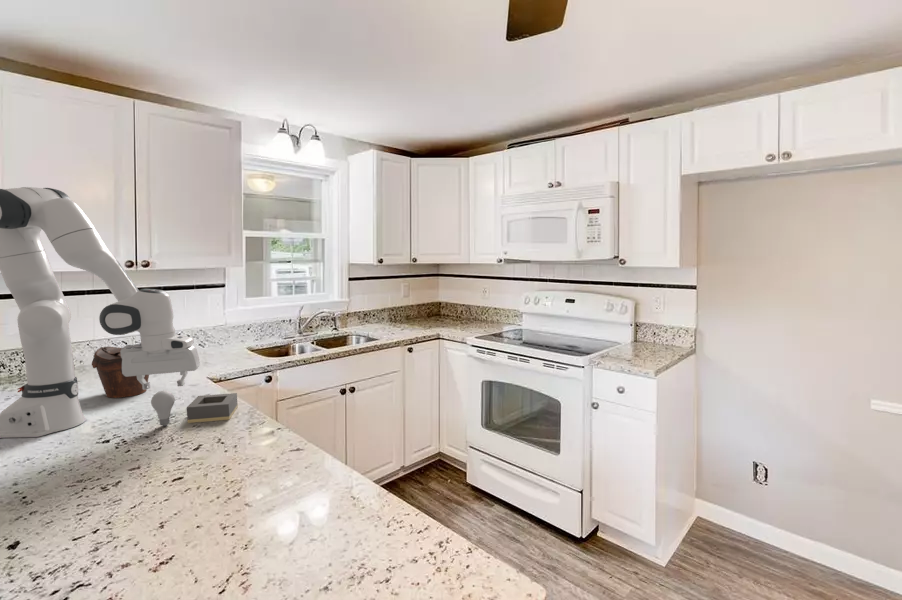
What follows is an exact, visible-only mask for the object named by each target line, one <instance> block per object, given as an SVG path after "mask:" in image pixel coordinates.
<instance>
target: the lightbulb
mask: <svg viewBox="0 0 902 600" xmlns="http://www.w3.org/2000/svg"><path fill="white" fill-rule="evenodd" d="M175 401H176V398H175V395H174V394H173V393H172V392H171V391H168V390H160V391H158V392H157V391H156V393H155V394H153V395H152V398H151V401H150V404H151V406H152V408H153V410H154V411H156V414H157V418H158V419H159V425H160V426H163V427H167V426H168V425H169V424H171V423H170V418H171V411H172V408H173V407H174V405H175Z"/></svg>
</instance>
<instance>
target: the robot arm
mask: <svg viewBox="0 0 902 600" xmlns="http://www.w3.org/2000/svg"><path fill="white" fill-rule="evenodd" d="M41 231H43V232H44V234H45V235H46V237H47V239H48V241H49V243H50V244H51V246H52V247H53V249H54V251H55V252H56V253H57V255H58V256H59V257H60V258H61V259H62V260H63V262H65V263H66V264H67V265H69V266H71V267H74V268H77V269H80V270H83V271H86V272H88V273H91V274H93V275H95V276H97V277H98V278H100V279H101V281H103V283H104V284H105V285H106V286H107V288H108V290H110V292H111V293H112V295H113V296H114V298H115V299H116V302H114V303H113V302H112V303H110V304H109V305H107V306H105V307H104V308H103V309H102V310H101V311H100V313H99V317H98V319H99V324H100V326H101V328H102V329H103V330H104V331H105V332H107V333H108V334H111V335H113V336H125V335H127V334H128V335H129V334H132V333H135V332H138V333H139V336H140V337H139V338H140V343H137V344H126V345H125V346H122V347H121V348H122V349H121V351H120V353H121V358H122V374H123V375H124V376H126V377H128V376H137V380H138V381H139V382H140V383H141V384H142V388H143V390H146V389H147V390H150V389H151V382H149V381H148V382H146V381H145V379H144V377H145V375H149V376H150V375H161V374H162V375H163V374H172V373H179V376H181V378H180V379H178V380H177V381H176V383H177V387H184V386H185V384H186V383H185V379H186V377H187V375H188V373H189V372H193V371H196V370H197V369H199V367H200V362H201V361H200V357H199V353H198V350H197V348H196V347H195V346H194V345H193V344H194V338H193V337H190V336H186V335H180V334H177V333H176V329H175V328H174V324H173V323H174V312H173V305H172V301H171V297H170V295H169V293H168V292H167V291H165V290H162V289H157V288H141V289H138V287H137V285H135V283H134V281H133V280H132V278H131V277H130V276H129V274H128V273H127V271H126V270H125V269H124V267H123V266H122V264H121V263H120V262H119V260H118V259H116V256H115V255H114V254H113V253H112V252H111V250H110V249H109V248H108V246H107V245H106V243H105V242H104V240H103V238H102V236H101V235H100V234H99V232H98V230H97V228H96V227H95V225H94V223H93V222H92V221H91V219H90V218H89V216H88V215H87V214H86V213H85V211H83V209H82V208H81V206H79V204H78V203H77V202H75V200H72V199H71V197H70V196H68V194H67V193H65V192H64V191H62V190H59V189H56V188H51V187H43V188H42V187H32V186H31V187H29V186H23V187H14V188H0V273H1V276H2V278H3V281H4V283H5V285H6V288H7V289H8V291H9V292H10V294H11V295H12V297H13V299H14V301H15V302H16V305H17V306H18V309H19V311H20V312H19V313H18V315H17V327H18V333H19V334H18V335H19V339H20V343H21V348H22V352H23V356H24V362H25V372H26V381H27V383H26V384H24V385H22V386H20V387H19V388H17V389H16V390H18V391H17V393H20V392H21V397H18V399H16V400H15V401H13V402H12V403H11V404H9V406H7V407H6V408H5V409H3V410H1V412H0V438H3V439H4V438H7V439H8V438H10V439H11V438H36V437H37V438H39V437H42V436H45V435H46V436H47V435H49V434H52V433H56V432H61V431H64V430H68V429H73V428H74V427H77V426H80V425H82V424H84V423H85V422H86V420H87V417H85V414H84V413H83V410H82V406H81V403H80V399H79V383H78V378H77V376H76V374H75V373H76V372H75V370H76V369H75V362H74V351H73V346H72V340H71V333H70V325H69V324H70V321H71V318H72V312H71V309H70V308H69V305H68V302H67V300H66V297H65V295H64V294H63V290H62V289H61V286H60V284H59V282H58V280H57V277H56V276H55V273H54V270H53V268H52V265H51V262H50V260H49V257H48V255H47V252H46V251H45V248H44V245H43V242H42V241H41V240H42V239H41V237H40V236H41V235H40V233H41ZM124 348H126V349H124ZM147 390H146V391H147Z"/></svg>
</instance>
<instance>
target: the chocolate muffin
mask: <svg viewBox="0 0 902 600" xmlns="http://www.w3.org/2000/svg"><path fill="white" fill-rule="evenodd" d="M122 348H123V347H117V346H102V347H99V348H97V350H96V351H95V352H94V354H93V359H92V362H91V366H92V368H93V369H96V371H97V374H98V377H99V380H100V382H101V385H102V387H103V391H104V393H105V396H106V397H107V398H112V399H119V398H120V399H121V398H129V397H132V396H138V395H142V394H143V393H146V392H147V390H148V389H146V390H143V388H142V384H141V383H140V382H139V381H138V380H137V376H128V377H126V376H124V375H123V374H122V358H121V353H120V351H121V349H122ZM124 349H126V348H124ZM149 377H150V375H145V377H144V379H145V381H146V382H149Z"/></svg>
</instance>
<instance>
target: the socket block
mask: <svg viewBox="0 0 902 600" xmlns="http://www.w3.org/2000/svg"><path fill="white" fill-rule="evenodd" d="M238 406H239V405H238V393H237V392H231V393H220V394H205V395H197V396H196V397H195V398H194V399H193V400H192V401H191V402H190V403H189V404H188V405H187V406H186V415H187V417H186V418H187V424H193V423H201V422H202V423H203V422H214V421H215V422H216V421H217V422H218V421H227V420H230V419H232V417H233V415H234V414H235V412H236V411H237V410H238Z"/></svg>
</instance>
